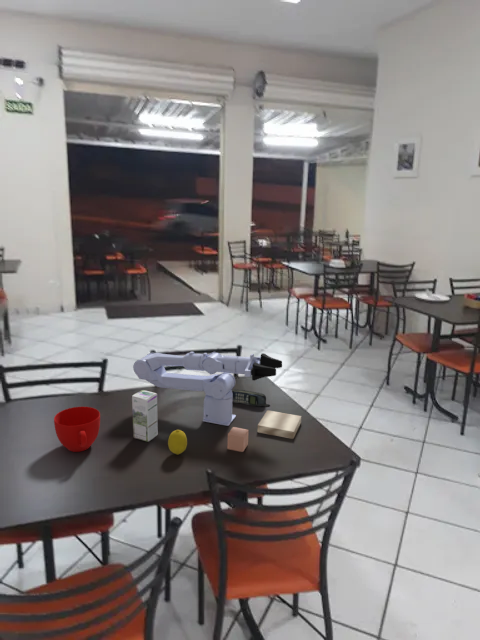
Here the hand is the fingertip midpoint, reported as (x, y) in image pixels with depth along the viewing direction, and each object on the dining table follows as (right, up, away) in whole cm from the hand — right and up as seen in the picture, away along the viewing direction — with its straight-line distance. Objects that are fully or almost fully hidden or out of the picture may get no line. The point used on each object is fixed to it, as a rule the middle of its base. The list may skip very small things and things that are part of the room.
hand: (278, 368), depth 152 cm
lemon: (-31, -25, -11) cm, 41 cm away
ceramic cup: (-60, -23, -10) cm, 65 cm away
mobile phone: (-9, -16, +25) cm, 31 cm away
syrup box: (-42, -22, -2) cm, 47 cm away
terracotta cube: (-13, -24, -6) cm, 28 cm away
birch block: (+1, -21, +7) cm, 22 cm away
